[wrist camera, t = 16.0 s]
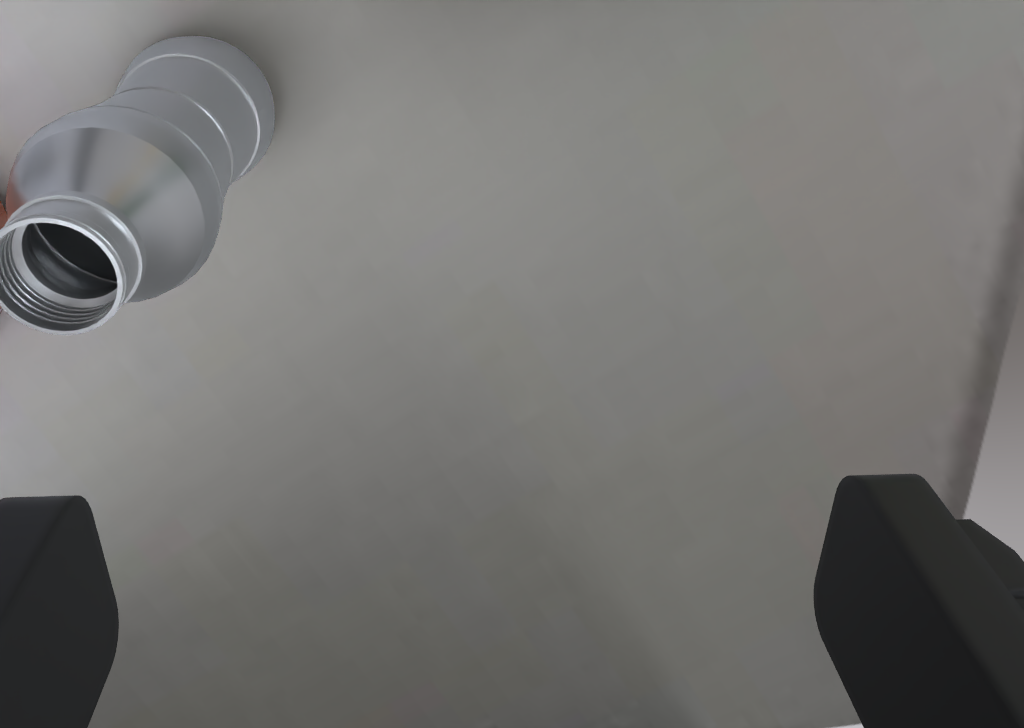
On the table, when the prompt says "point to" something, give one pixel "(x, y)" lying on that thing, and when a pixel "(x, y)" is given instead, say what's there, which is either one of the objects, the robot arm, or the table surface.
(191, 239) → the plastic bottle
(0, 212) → the bowl
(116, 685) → the table surface
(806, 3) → the table surface
